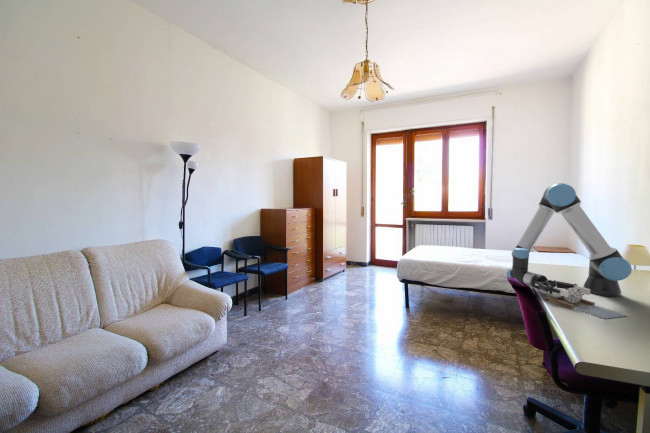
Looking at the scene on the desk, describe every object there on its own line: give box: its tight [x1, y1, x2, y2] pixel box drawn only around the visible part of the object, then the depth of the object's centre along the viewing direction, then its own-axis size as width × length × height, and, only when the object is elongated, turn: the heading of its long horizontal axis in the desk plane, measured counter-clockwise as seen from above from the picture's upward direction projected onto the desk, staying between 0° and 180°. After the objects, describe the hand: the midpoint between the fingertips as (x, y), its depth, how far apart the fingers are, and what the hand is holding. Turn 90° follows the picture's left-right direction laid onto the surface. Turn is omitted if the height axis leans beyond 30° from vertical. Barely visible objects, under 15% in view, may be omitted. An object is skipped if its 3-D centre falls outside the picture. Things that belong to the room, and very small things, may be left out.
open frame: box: [545, 295, 595, 309], centre depth 145 cm, size 16×11×2 cm
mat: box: [573, 305, 628, 320], centre depth 133 cm, size 14×12×1 cm
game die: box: [560, 286, 585, 305], centre depth 143 cm, size 9×8×10 cm
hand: (579, 293), depth 140 cm, fingers open, 13 cm apart
